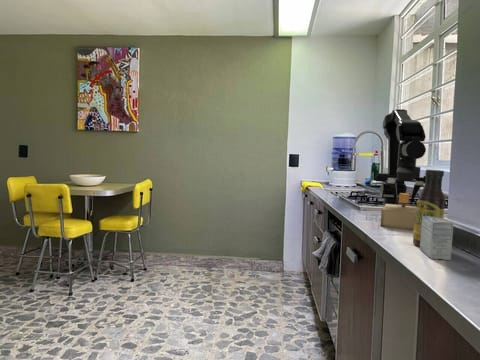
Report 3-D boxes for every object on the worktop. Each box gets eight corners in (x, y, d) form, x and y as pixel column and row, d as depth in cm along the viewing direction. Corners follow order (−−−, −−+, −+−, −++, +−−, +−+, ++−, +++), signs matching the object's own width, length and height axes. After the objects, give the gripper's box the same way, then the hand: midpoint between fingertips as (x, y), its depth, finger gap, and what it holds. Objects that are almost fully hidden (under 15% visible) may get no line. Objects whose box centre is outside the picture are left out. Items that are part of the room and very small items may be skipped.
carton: (384, 218, 126) (385, 203, 126) (421, 223, 121) (422, 207, 120) (380, 226, 113) (381, 209, 113) (421, 231, 108) (423, 213, 107)
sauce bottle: (407, 243, 91) (413, 168, 90) (423, 242, 94) (429, 169, 92) (429, 250, 85) (436, 170, 84) (446, 248, 88) (453, 170, 86)
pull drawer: (385, 205, 126) (386, 191, 125) (422, 208, 120) (423, 194, 120) (383, 207, 119) (385, 193, 119) (422, 211, 114) (423, 196, 114)
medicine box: (451, 261, 77) (454, 223, 77) (429, 259, 78) (432, 221, 78) (438, 251, 85) (441, 216, 84) (418, 249, 86) (421, 215, 85)
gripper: (375, 157, 116) (372, 203, 117) (439, 160, 107) (435, 209, 108) (378, 157, 125) (375, 200, 127) (437, 159, 117) (434, 205, 118)
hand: (403, 203), depth 120 cm, fingers open, 4 cm apart
